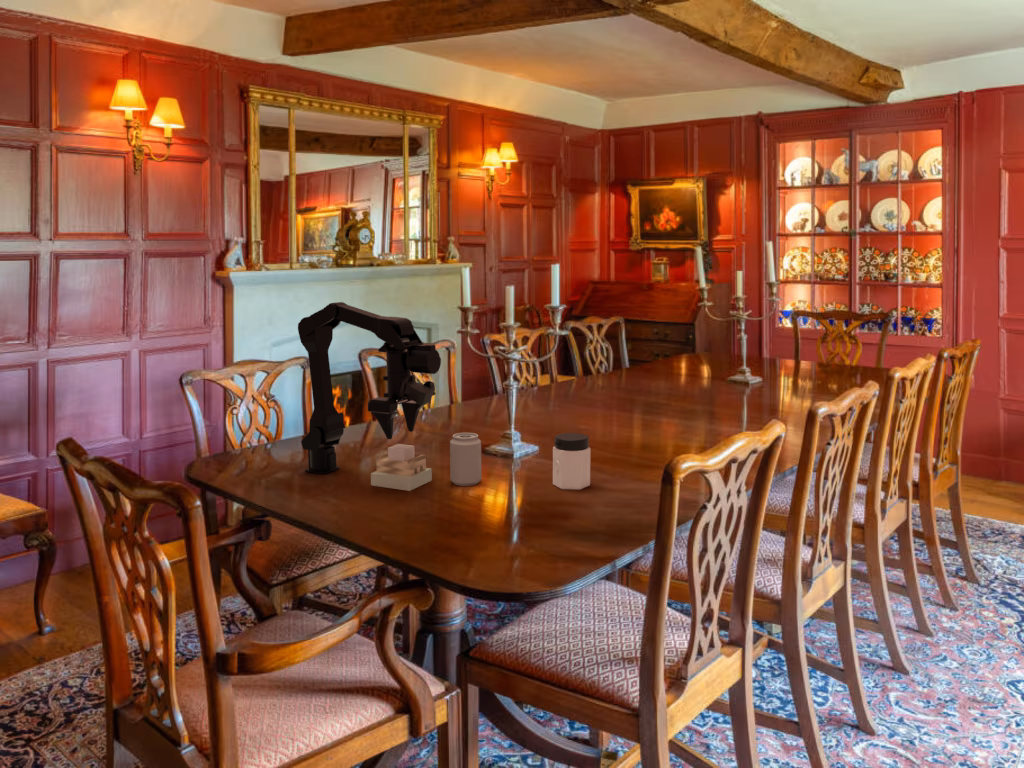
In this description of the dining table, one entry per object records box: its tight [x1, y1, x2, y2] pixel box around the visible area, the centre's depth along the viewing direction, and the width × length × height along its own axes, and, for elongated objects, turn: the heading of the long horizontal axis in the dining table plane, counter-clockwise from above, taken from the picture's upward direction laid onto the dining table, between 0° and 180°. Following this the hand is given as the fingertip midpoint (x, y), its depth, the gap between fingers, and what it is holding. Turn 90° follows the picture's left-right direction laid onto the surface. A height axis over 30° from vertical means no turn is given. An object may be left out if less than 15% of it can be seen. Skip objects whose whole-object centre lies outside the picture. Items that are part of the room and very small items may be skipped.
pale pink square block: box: [387, 443, 416, 462], centre depth 206 cm, size 5×5×3 cm
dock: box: [370, 467, 433, 492], centre depth 207 cm, size 11×10×3 cm
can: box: [449, 432, 482, 487], centre depth 206 cm, size 8×8×12 cm
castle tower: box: [375, 451, 427, 476], centre depth 206 cm, size 10×6×4 cm, turn 64°
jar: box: [552, 432, 591, 491], centre depth 204 cm, size 9×8×12 cm
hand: (400, 435), depth 205 cm, fingers open, 9 cm apart
